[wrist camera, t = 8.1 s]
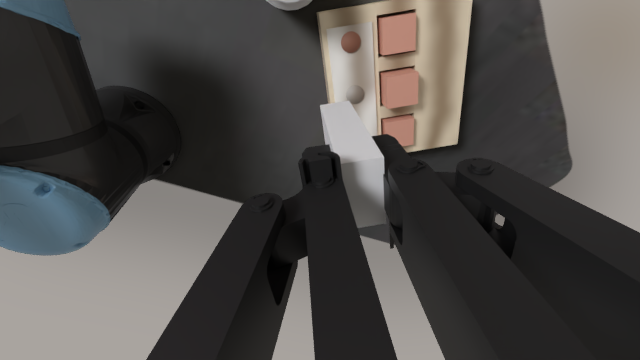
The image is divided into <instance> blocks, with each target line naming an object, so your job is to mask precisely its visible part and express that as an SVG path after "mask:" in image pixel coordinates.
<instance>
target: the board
mask: <svg viewBox="0 0 640 360" xmlns="http://www.w3.org/2000/svg"><path fill="white" fill-rule="evenodd" d="M472 1H473V0H386V1H380V2H374V3H368V4H362V5H356V6H350V7H344V8H338V9H332V10H326V11H320V12H317V20H318V28H319V35H320V43H321V51H322V58H323V66H324V74H325V81H326V89H327V97H328V104H331V103H337V102H343V101H350V103H351V104H352V106H353V108H354V109H355V111H356V112H357V114H358V116H359V117H360V119H361V121H362V122H363V124H364V125H365V127H366V129H367V130H368V132H369V133H370V135H371V136H377V135H381V118H387V117H393V116H399V115H405V114H410V115H411V116H412V117H413V118H414V141H413V145H408V146H402V147H403V148H404V149H405V151H406V152H413V151H419V150H425V149H431V148H437V147H443V146H449V145H455V144H458V134H459V125H460V115H461V105H462V96H463V86H464V77H465V67H466V58H467V48H468V39H469V29H470V20H471V10H472ZM406 12H407V13H416V46H415V50H413V51H407V52H401V53H395V54H389V55H381V54H379V53H378V37H377V17H382V16H388V15H394V14H400V13H406ZM408 67H410V68H412V69H414V70H416V71H418V72H419V81H418V104H415V105H409V106H403V107H397V108H391V109H387V108H386V107H385V106H384V105H383V104H382V103H381V97H380V72H384V71H390V70H396V69H402V68H408Z"/></svg>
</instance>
